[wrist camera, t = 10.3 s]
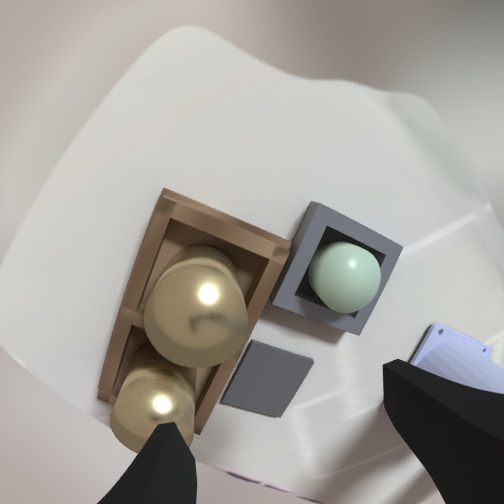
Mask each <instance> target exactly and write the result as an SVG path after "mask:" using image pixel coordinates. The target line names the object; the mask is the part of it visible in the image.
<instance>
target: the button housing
mask: <svg viewBox="0 0 504 504" xmlns="http://www.w3.org/2000/svg"><path fill="white" fill-rule="evenodd" d="M326 226H328V227H330V228H332V229H334V230H336V231H338V232H340V233H342V234H344V235H346V236H348V237H350V238H352V239H354V240H356V241H358V242H360V243H362V244H364V245H366V246H368V247H370V248H372V249H374V250H375V251H374V253H373V256H374V257H375V259H376V260H377V262H378V264H379V267H380V272H381V279H380V285H379V288H378V291H377V293H376V295H375V296H374V298H373V299H372V300H371V301H370V303H368V304H367V305H366V306H365V307H363V308H362V309H360V310H358V311H355V312H352V313H339V312H336V311H334V310H332V309H330V308H329V307H328V306H327V305H326V304H325V303H324V302H323V301H322V300H319V299H317V298H314V297H312V296H309V295H307V294H304V293H302V292H299V291H296V290H297V288H298V286H299V284H300V282H301V280H302V278H303V276H304V274H305V271H306V269H307V267H308V265H309V263H310V261H311V259H312V257H313V255H314V252H315V250H316V248H317V246H318V244H319V242H320V240H321V237H322V235H323V233H324V231H325V229H326ZM402 249H403V247H402V246H401V245H399V244H397V243H395V242H393V241H392V240H390V239H388V238H386V237H384V236H382V235H381V234H379V233H377V232H375V231H373V230H371V229H369V228H368V227H366V226H364V225H362V224H360V223H358V222H356V221H354V220H352V219H350V218H348V217H346V216H345V215H343V214H341V213H339V212H337V211H335V210H333V209H331V208H329V207H327V206H325V205H323V204H321V203H317V202H312V201H311V203H310V206H309V208H308V210H307V212H306V215H305V217H304V219H303V221H302V223H301V226H300V228H299V230H298V232H297V234H296V236H295V239H294V241H293V243H292V245H291V247H290V253H289V256H288V258H287V260H286V262H285V264H284V266H283V268H282V271H281V273H280V275H279V277H278V279H277V281H276V283H275V285H274V287H273V290H272V292H271V294H270V296H269V298H270V300H271V303H272V304H273V305H276V306H278V307H281V308H284V309H286V310H289V311H292V312H294V313H297V314H300V315H302V316H305V317H308V318H311V319H313V320H316V321H319V322H322V323H324V324H327V325H330V326H333V327H336V328H338V329H341V330H344V331H347V332H350V333H352V334H355V335H358V336H359V335H360V333H361V331H362V330H363V328H364V326H365V324H366V322H367V320H368V319H369V317H370V315H371V313H372V311H373V309H374V307H375V305H376V303H377V301H378V299H379V297H380V295H381V293H382V291H383V289H384V287H385V285H386V283H387V281H388V279H389V277H390V275H391V273H392V271H393V269H394V266H395V264H396V262H397V260H398V258H399V256H400V253H401V251H402Z"/></svg>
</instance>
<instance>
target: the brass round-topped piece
mask: <svg viewBox="0 0 504 504" xmlns="http://www.w3.org/2000/svg"><path fill="white" fill-rule="evenodd" d="M144 325H145V330H146V333H147V336H148V338H149V340H150V342H151V343H152V345H153V346H154V348H155V349H156V350H157V351H158V352H159V353H160V354H161V355H162V356H164V357H165V358H166V359H168V360H170V361H171V362H173V363H176V364H178V365H181V366H185V367H190V368H206V367H211V366H215V365H218V364H220V363H223V362H224V361H226V360H228V359H229V358H230V357H232V356H233V355H234V354H235V353H236V352H237V351H238V350H239V348H240V347H241V346H242V344H243V342H244V340H245V337H246V335H247V331H248V314H247V310H246V306H245V302H244V298H243V294H242V290H241V286H240V282H239V278H238V274H237V270H236V267H235V265H234V263H233V261H232V260H231V258H230V257H229V256H228V255H227V254H226V253H225V252H224V251H223V250H221V249H220V248H218V247H216V246H213V245H210V244H202V243H200V244H192V245H189V246H186V247H184V248H182V249H181V250H179V251H178V252H177V253H176V254H175V255H174V256H173V257H172V259H171V260H170V262H169V264H168V265H167V267H166V269H165V271H164V272H163V274H162V276H161V277H160V279H159V281H158V283H157V284H156V286H155V288H154V290H153V292H152V293H151V295H150V297H149V299H148V301H147V303H146V307H145V311H144Z"/></svg>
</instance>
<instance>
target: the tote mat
mask: <svg viewBox="0 0 504 504" xmlns="http://www.w3.org/2000/svg"><path fill="white" fill-rule="evenodd" d="M313 364H314V361H313V359H311V358H307V357H304V356H301V355H298V354H295V353H291V352H288V351H285V350H282V349H279V348H276V347H273V346H270V345H267V344H264V343H261V342H258V341H255V340H251V342H250V344H249V346H248V348H247V350H246V352H245V354H244V356H243V358H242V360H241V362H240V364H239V366H238V368H237V370H236V372H235V374H234V376H233V378H232V380H231V382H230V384H229V386H228V388H227V389H226V391H225V393H224V395H223V397H222V402H223V403H226V404H229V405H233V406H237V407H240V408H244V409H248V410H251V411H255V412H259V413H263V414H267V415H272V416H276V417H281V416H282V414H283V413H284V411H285V410H286V408H287V406H288V405H289V403H290V402H291V400H292V398H293V397H294V395H295V394H296V392H297V390H298V389H299V387H300V385H301V384H302V382H303V380H304V379H305V377H306V375H307V374H308V372H309V370H310V369H311V367H312V365H313Z"/></svg>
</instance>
